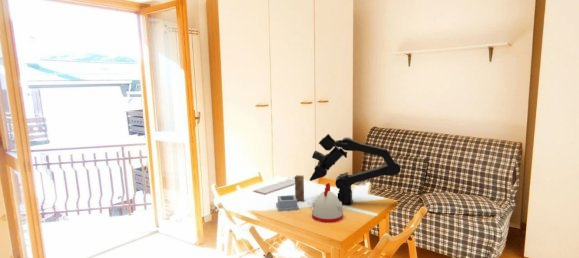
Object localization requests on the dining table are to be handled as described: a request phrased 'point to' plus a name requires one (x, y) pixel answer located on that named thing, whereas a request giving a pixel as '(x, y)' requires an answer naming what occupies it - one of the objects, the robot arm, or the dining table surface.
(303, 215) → the dining table surface
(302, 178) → the brown wooden block
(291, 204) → the end cap
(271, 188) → the baseboard molding
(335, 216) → the kitchen timer
